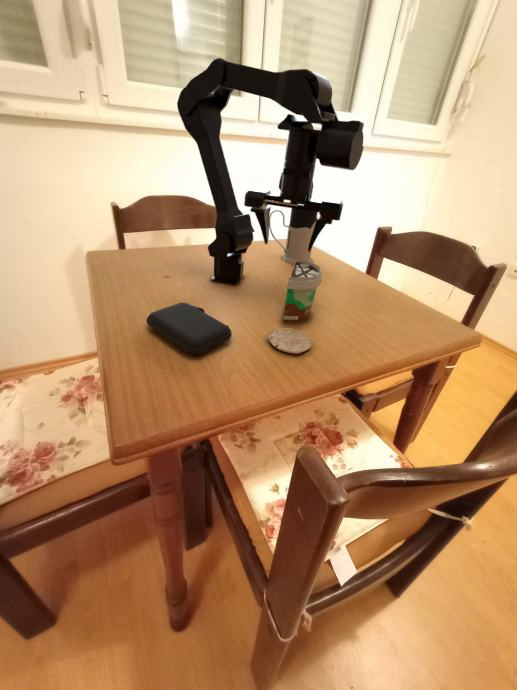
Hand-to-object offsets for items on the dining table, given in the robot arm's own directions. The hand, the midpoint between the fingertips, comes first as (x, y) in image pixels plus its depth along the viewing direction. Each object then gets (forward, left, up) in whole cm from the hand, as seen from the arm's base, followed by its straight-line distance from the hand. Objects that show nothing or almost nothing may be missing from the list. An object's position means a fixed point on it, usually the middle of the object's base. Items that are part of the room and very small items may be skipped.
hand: (287, 247), depth 66 cm
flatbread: (+5, -18, -12) cm, 22 cm away
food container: (+5, -6, -12) cm, 15 cm away
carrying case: (-13, -21, -12) cm, 28 cm away
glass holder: (-3, +29, -12) cm, 31 cm away
